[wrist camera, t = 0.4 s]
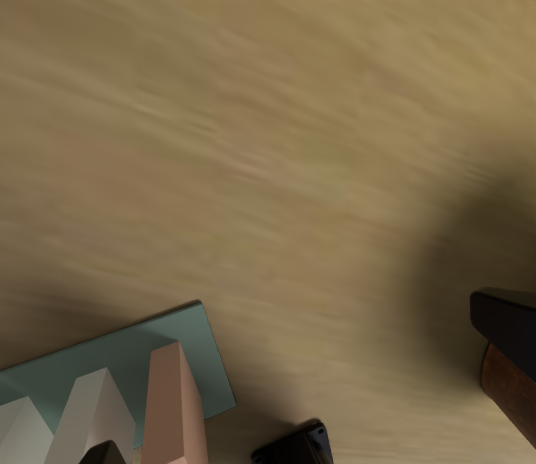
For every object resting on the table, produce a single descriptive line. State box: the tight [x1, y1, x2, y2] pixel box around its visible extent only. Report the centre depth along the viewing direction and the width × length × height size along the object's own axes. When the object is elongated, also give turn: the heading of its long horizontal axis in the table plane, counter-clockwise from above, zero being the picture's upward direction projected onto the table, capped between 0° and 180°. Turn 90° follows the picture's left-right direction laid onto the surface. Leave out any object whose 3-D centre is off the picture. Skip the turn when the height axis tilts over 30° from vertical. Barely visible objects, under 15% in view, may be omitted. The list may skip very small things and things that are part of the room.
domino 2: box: [44, 367, 136, 464], centre depth 17 cm, size 5×2×8 cm, turn 13°
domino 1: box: [141, 341, 209, 464], centre depth 18 cm, size 5×2×8 cm, turn 13°
